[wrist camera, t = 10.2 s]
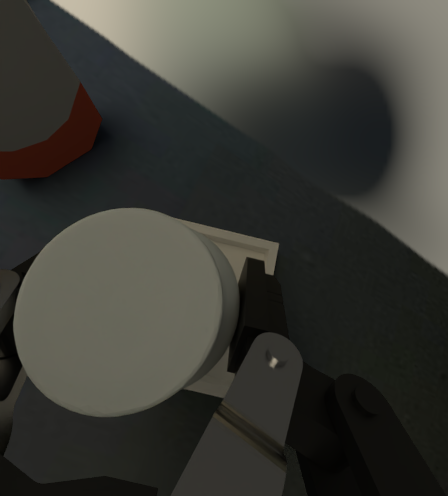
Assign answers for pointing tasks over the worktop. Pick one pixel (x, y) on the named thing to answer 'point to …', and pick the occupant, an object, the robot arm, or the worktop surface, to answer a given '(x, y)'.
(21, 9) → the french fries container
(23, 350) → the supplement bottle
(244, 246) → the tray
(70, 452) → the worktop surface
